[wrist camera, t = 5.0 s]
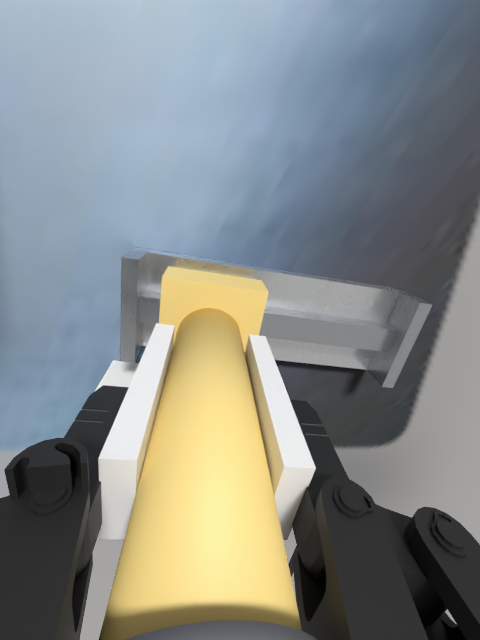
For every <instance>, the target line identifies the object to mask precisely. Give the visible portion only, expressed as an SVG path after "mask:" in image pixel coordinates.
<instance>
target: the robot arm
mask: <svg viewBox="0 0 480 640" xmlns="http://www.w3.org/2000/svg"><path fill="white" fill-rule="evenodd" d="M174 329H175V325H166V324H158V323H156V325H155V328H154V330H153V332H152V335H151V337H150V339H149V342H148V344H147V346H146V349H145V351H144V353H143V356H142V358H141V360H140V363H139V365H138V367H137V370H136V372H135V374H134V377H133V379H132V381H131V384H130V386H129V387H119V386H107V385H103V386H101V387H100V388H99V389H97V390H96V391H95V392H93V393H92V394H91V395H90V396H89V397H88V399H87V401H86V402H85V404H84V406H83V407H82V410H81V411H80V412H79V414H78V415H77V417H76V419H75V422H73V424H72V425H71V427H70V429H69V430H68V432H67V434H66V435H65V437H64V438H55V439H50V440H45V441H42V442H39V443H37V444H35V445H33V446H30V447H28V448H27V449H25V450H24V451H22V452H21V453H20V454H18V455H17V456H16V457H14V459H13V460H12V461H11V462H10V463H9V465H8V466H7V467H6V469H5V475H6V479H7V484H8V488H9V493H10V495H9V496H7V497H3V498H0V640H79V639H80V633H81V628H82V622H83V616H84V611H85V605H86V599H87V594H88V588H89V583H90V577H91V571H92V565H93V562H92V559H93V558H92V552H93V549H94V545H95V543H96V540H97V537H98V534H99V530H100V538H101V539H102V540H104V539H108V540H111V539H112V540H113V539H114V540H116V539H117V540H119V539H121V540H124V539H125V535H126V531H127V527H128V523H129V519H130V515H131V511H132V507H133V503H134V499H135V496H136V492H137V488H138V484H139V480H140V476H141V472H142V468H143V464H144V460H145V456H146V452H147V448H148V444H149V440H150V436H151V432H152V429H153V425H154V421H155V417H156V413H157V409H158V405H159V401H160V397H161V393H162V389H163V385H164V381H165V377H166V373H167V369H168V365H169V361H170V357H171V353H172V349H173V339H174ZM245 358H246V362H247V367H248V372H249V377H250V382H251V386H252V391H253V396H254V401H255V406H256V411H257V415H258V420H259V425H260V430H261V435H262V439H263V444H264V449H265V454H266V459H267V464H268V468H269V473H270V478H271V483H272V488H273V492H274V497H275V502H276V507H277V512H278V517H279V521H280V526H281V531H282V536H283V540H287V539H288V536H289V534H290V532H291V529H292V527H293V530H294V535H295V539H296V543H297V546H296V548H295V550H294V553H293V555H292V557H291V560H290V562H289V564H288V565H289V569H290V574H291V577H292V574H293V572H294V581H295V591H296V602H297V608H298V613H299V618H300V622H301V627H302V631H303V632H305V633H307V634H309V635H311V636H313V637H314V638H316V639H317V640H480V545H479V543H478V542H477V541H476V540H475V539H474V537H473V536H472V535H471V534H470V533H469V532H468V531H467V530H466V529H465V528H464V527H463V526H462V525H461V524H460V523H459V522H458V521H456V520H455V519H454V518H452V517H451V516H449V515H448V514H446V513H444V512H442V511H440V510H438V509H436V508H430V507H423V508H420V509H418V510H417V511H416V513H415V514H414V516H413V517H412V518H411V517H408V516H405V515H402V514H399V513H397V512H394V511H391V510H388V509H385V508H383V507H380V506H378V505H376V504H375V503H374V501H373V499H372V497H371V496H370V495H369V494H368V493H367V492H366V491H365V490H364V489H363V488H362V487H361V486H359V485H358V484H356V483H355V482H353V481H351V480H349V478H348V476H347V474H346V472H345V470H344V468H343V466H342V464H341V462H340V460H339V458H338V456H337V453H336V451H335V449H334V447H333V445H332V443H331V441H330V439H329V437H327V433H326V431H325V429H324V427H323V426H322V422H321V420H320V418H319V416H318V414H317V412H316V411H315V410H314V409H313V408H312V407H311V406H310V405H309V404H308V403H307V402H306V401H298V400H290V399H289V396H288V394H287V391H286V388H285V386H284V383H283V381H282V378H281V375H280V373H279V370H278V367H277V365H276V362H275V360H274V357H273V354H272V352H271V349H270V346H269V344H268V341H267V339H266V336H258V335H250V334H249V336H248V341H247V346H246V351H245ZM447 609H448V610H449V612H450V614H451V615H452V617H453V618H454V620H455V622H456V623H457V624H455V623H454V622H453V621H452V620H451V619H450V618H449V617H448V615H447V614H446V613H445V611H446V610H447Z"/></svg>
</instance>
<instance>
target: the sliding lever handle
mask: <svg viewBox="0 0 480 640" xmlns="http://www.w3.org/2000/svg"><path fill="white" fill-rule="evenodd" d="M268 293H269V292H268V290H267V288H266V287H265V285H264V283H263V281H262V280H255V279H249V278H242V277H236V276H229V275H222V274H216V273H209V272H203V271H196V270H189V269H183V268H176V267H170V266H168V268H167V269H166V271H165V273H164V274H163V276H162V284H161V298H160V312H159V324H166V325H175V329H174V339H173V349H172V353H171V357H170V361H169V365H168V369H167V373H166V377H165V381H164V385H163V389H162V393H161V397H160V401H159V405H158V409H157V413H156V417H155V421H154V425H153V429H152V432H151V436H150V440H149V444H148V448H147V452H146V456H145V460H144V464H143V468H142V472H141V476H140V480H139V484H138V488H137V492H136V496H135V499H134V503H133V507H132V511H131V515H130V519H129V523H128V527H127V531H126V535H125V539H124V543H123V547H122V551H121V555H120V558H119V562H118V567H117V570H116V574H115V578H114V582H113V586H112V590H111V594H110V598H109V602H108V606H107V610H106V614H105V618H104V622H103V626H102V630H101V633H100V638H99V640H317V639H316V638H314V637H313V636H311V635H309V634H307V633H305V632H303V631H302V627H301V622H300V618H299V613H298V608H297V603H296V598H295V594H294V589H293V584H292V579H291V574H290V569H289V565H288V560H287V555H286V550H285V546H284V541H283V536H282V531H281V526H280V521H279V517H278V512H277V507H276V502H275V497H274V492H273V488H272V483H271V478H270V473H269V468H268V464H267V459H266V454H265V449H264V444H263V439H262V435H261V430H260V425H259V420H258V415H257V411H256V406H255V401H254V396H253V391H252V386H251V382H250V377H249V372H248V367H247V362H246V358H245V351H246V346H247V341H248V336H249V334H250V335H258V336H259V332H260V328H261V324H262V319H263V315H264V311H265V306H266V302H267V297H268Z"/></svg>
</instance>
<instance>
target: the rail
mask: <svg viewBox="0 0 480 640" xmlns="http://www.w3.org/2000/svg"><path fill="white" fill-rule="evenodd" d="M168 266H170V267H176V268H183V269H189V270H196V271H203V272H209V273H216V274H222V275H229V276H236V277H242V278H249V279H255V280H262V281H263V283H264V285H265V287H266V288H267V290H268V292H269V293H268V297H267V302H266V306H265V311H264V315H263V319H262V324H261V328H260V332H259V336H266V339H267V341H268V344H269V346H270V349H271V352H272V354H273V357H274V360H281V361H290V362H300V363H309V364H318V365H328V366H337V367H346V368H356V369H365V370H367V371H368V372H369V373H370V374H371V375H372V376H373V377H374V378H375V380H376V381H377V382H378V383H379V384H380V385H381V386H382V387H389V388H393V386H394V384H395V382H396V380H397V378H398V376H399V374H400V372H401V369H402V367H403V365H404V363H405V361H406V359H407V357H408V355H409V353H410V351H411V349H412V346H413V344H414V342H415V340H416V338H417V336H418V334H419V332H420V330H421V328H422V326H423V323H424V321H425V319H426V317H427V315H428V313H429V311H430V309H431V307H432V304H430V303H428V302H426V301H424V300H422V299H420V298H418V297H416V296H414V295H412V294H410V293H408V292H406V291H404V290H402V289H398V288H392V287H385V286H379V285H373V284H366V283H360V282H354V281H348V280H341V279H335V278H329V277H323V276H316V275H310V274H304V273H297V272H291V271H285V270H279V269H272V268H266V267H260V266H253V265H247V264H241V263H235V262H228V261H222V260H216V259H210V258H203V257H197V256H191V255H184V254H178V253H172V252H166V251H159V250H153V249H147V248H141V247H136V248H134V249H133V250H131V251H130V252H128V253H127V254H126V255H124V256H123V257H122V262H121V340H120V361H122V362H132V363H135V361H136V359H137V357H138V355H139V352H140V350H141V348H142V346H147V344H148V342H149V339H150V337H151V335H152V332H153V330H154V328H155V325H156V323H158V324H159V312H160V298H161V284H162V276H163V274H164V273H165V271H166V269H167V268H168Z"/></svg>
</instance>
